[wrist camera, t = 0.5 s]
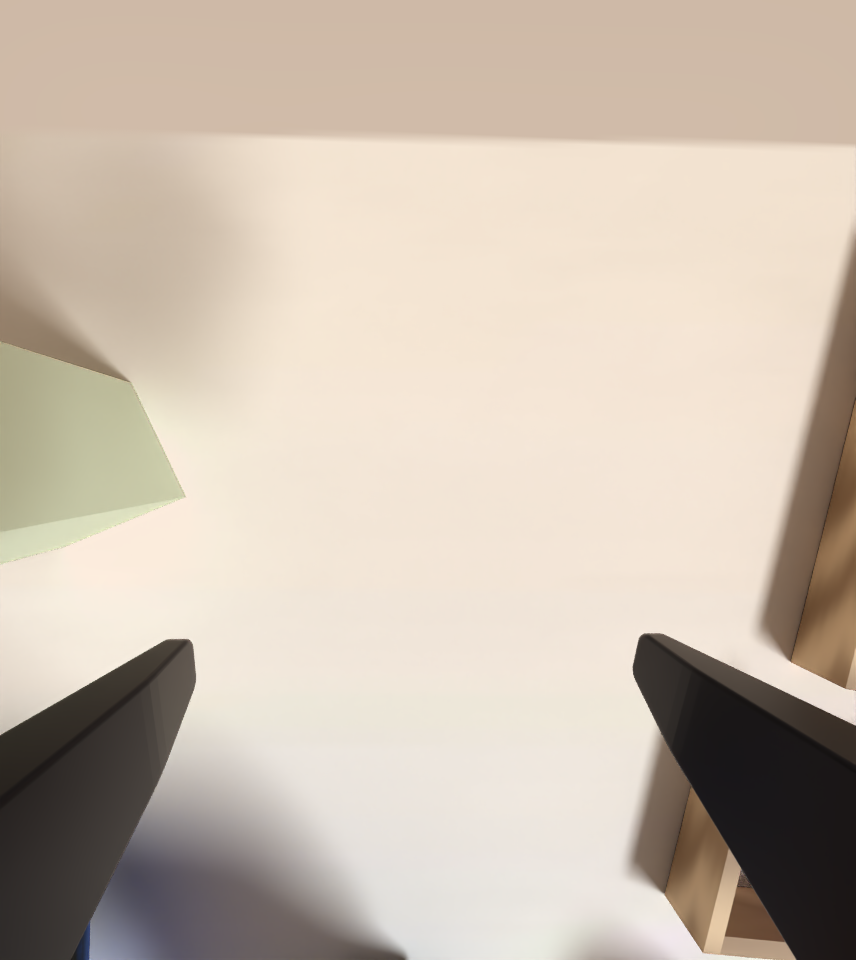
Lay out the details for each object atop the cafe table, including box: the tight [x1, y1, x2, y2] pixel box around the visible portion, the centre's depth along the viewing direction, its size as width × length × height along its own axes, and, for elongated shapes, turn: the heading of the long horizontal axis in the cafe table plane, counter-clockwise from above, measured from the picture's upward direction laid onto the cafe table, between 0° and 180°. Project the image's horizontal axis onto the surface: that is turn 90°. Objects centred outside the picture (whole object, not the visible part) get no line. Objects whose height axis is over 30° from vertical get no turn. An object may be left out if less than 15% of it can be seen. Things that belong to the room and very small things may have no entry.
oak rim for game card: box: [665, 786, 796, 960], centre depth 24 cm, size 10×14×3 cm
